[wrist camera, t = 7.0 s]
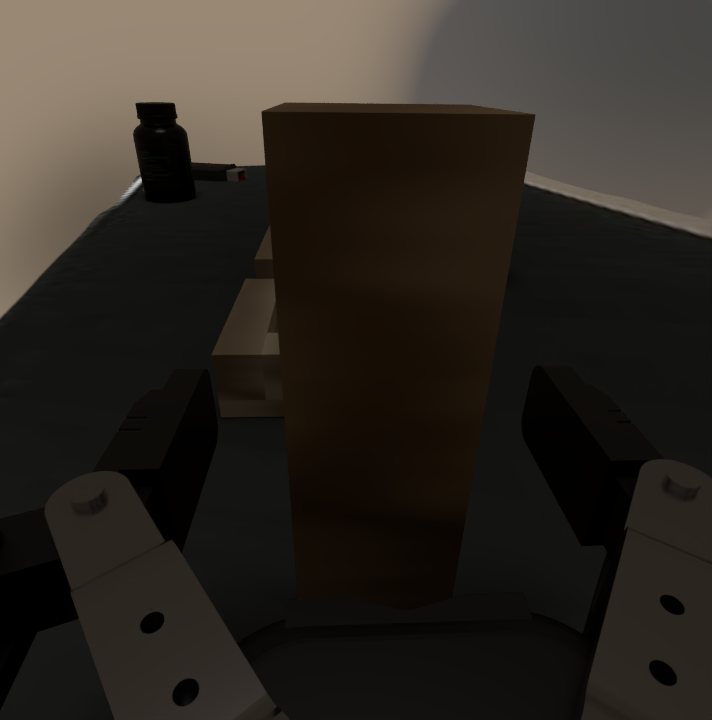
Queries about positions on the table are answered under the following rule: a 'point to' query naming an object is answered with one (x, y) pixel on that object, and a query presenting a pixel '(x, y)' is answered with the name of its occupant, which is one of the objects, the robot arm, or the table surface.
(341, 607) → the robot arm
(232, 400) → the end cap
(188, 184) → the supplement bottle
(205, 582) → the table surface
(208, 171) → the usb drive
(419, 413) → the tall brown wooden block
